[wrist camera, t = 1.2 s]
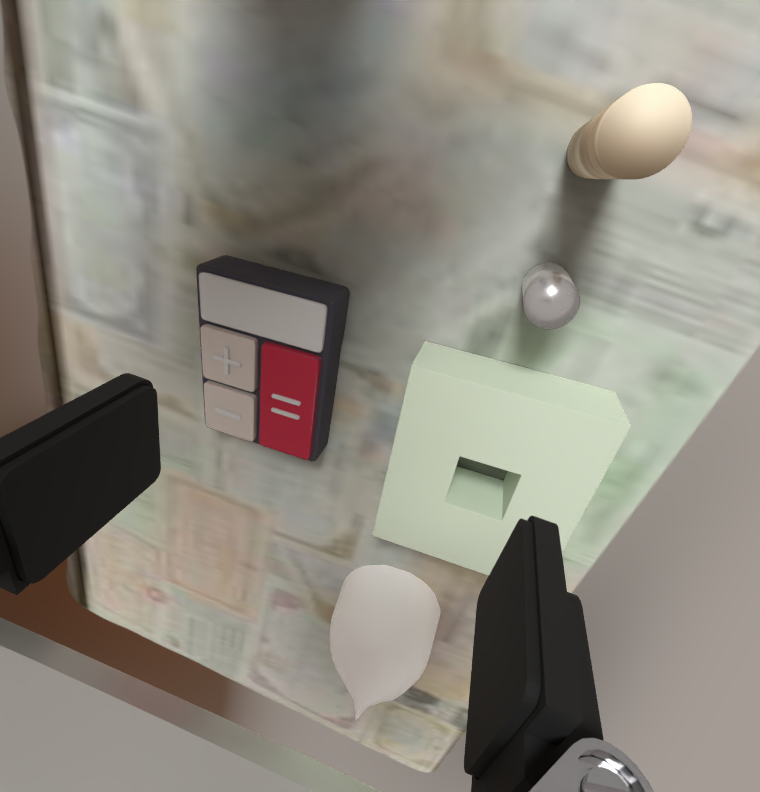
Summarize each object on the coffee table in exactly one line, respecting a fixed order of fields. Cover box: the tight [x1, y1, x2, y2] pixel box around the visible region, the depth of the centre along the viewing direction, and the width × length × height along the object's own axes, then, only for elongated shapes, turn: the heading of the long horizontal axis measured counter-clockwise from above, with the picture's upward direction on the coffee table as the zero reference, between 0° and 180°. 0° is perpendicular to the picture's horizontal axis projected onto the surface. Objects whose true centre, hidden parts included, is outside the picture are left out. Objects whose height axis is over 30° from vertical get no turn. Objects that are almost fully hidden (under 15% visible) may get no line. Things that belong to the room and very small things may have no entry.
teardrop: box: [330, 565, 441, 720], centre depth 42 cm, size 11×11×12 cm
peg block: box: [372, 341, 631, 576], centre depth 34 cm, size 16×14×5 cm
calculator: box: [197, 256, 350, 461], centre depth 36 cm, size 11×4×15 cm
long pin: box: [567, 83, 692, 179], centre depth 21 cm, size 3×3×11 cm
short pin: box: [522, 262, 580, 329], centre depth 27 cm, size 3×3×5 cm
